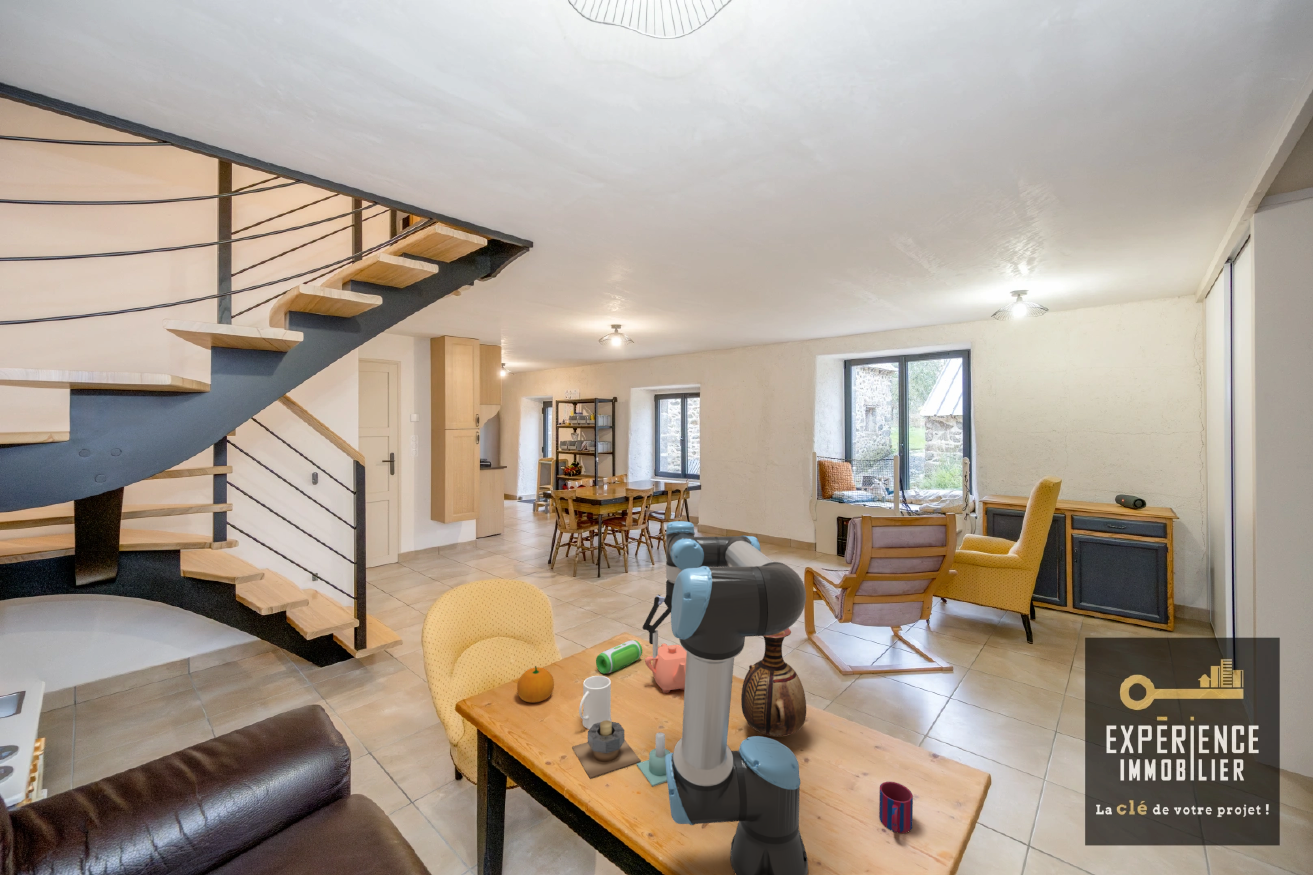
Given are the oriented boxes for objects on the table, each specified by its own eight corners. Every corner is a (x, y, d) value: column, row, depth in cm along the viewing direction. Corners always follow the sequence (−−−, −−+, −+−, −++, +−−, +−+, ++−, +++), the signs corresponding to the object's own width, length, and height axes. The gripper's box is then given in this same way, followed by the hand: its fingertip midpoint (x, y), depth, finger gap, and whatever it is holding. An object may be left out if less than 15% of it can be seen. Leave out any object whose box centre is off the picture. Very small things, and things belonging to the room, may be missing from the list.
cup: (914, 818, 116) (914, 788, 116) (907, 848, 108) (908, 816, 108) (882, 806, 120) (882, 777, 120) (873, 834, 111) (873, 803, 111)
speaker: (629, 655, 198) (629, 636, 198) (643, 661, 194) (643, 641, 193) (594, 671, 186) (594, 650, 185) (608, 678, 181) (608, 656, 180)
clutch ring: (627, 735, 141) (627, 724, 141) (615, 755, 132) (615, 743, 132) (597, 729, 144) (597, 718, 144) (583, 748, 135) (583, 737, 135)
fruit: (510, 696, 168) (510, 665, 168) (542, 684, 176) (542, 655, 176) (528, 711, 159) (528, 678, 159) (561, 697, 167) (561, 667, 167)
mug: (588, 739, 145) (588, 696, 145) (568, 728, 150) (568, 687, 150) (617, 720, 154) (617, 680, 154) (597, 710, 160) (597, 672, 159)
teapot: (660, 670, 186) (661, 634, 186) (702, 679, 180) (702, 642, 179) (639, 692, 171) (639, 652, 171) (684, 702, 164) (684, 661, 164)
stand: (684, 775, 130) (684, 739, 130) (652, 786, 126) (652, 749, 126) (667, 755, 138) (667, 721, 138) (636, 765, 134) (636, 730, 134)
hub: (641, 762, 135) (641, 730, 135) (590, 778, 129) (590, 745, 128) (619, 733, 147) (619, 704, 147) (572, 747, 141) (572, 717, 141)
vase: (804, 763, 135) (805, 649, 134) (734, 749, 141) (735, 639, 140) (807, 719, 155) (808, 620, 154) (747, 709, 161) (747, 613, 160)
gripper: (728, 579, 139) (728, 658, 139) (639, 572, 146) (639, 648, 146) (724, 587, 132) (724, 670, 132) (631, 580, 139) (631, 659, 139)
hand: (679, 658), depth 139 cm, fingers open, 13 cm apart
